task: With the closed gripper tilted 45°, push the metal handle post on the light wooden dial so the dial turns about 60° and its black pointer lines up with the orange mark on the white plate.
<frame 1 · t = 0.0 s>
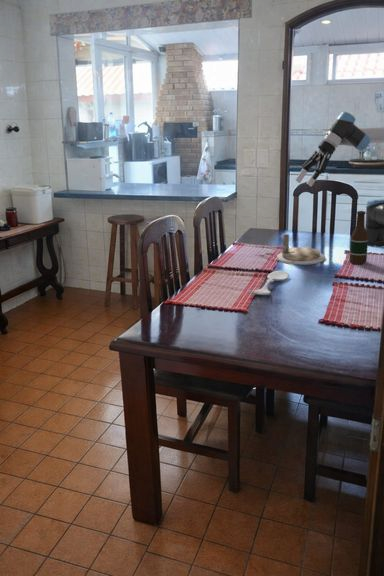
hand: (302, 183, 241), 36 cm above the table, tool tilted 35°, fingers open, 13 cm apart
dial: (301, 244, 249), point 7 cm above the table, hinge at 0.0°
beer bottle: (357, 262, 241), on the table
spoon: (270, 287, 213), on the table
white plate: (300, 258, 251), on the table
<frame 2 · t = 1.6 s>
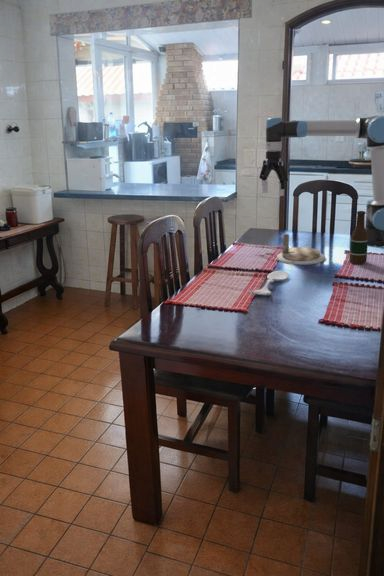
hand: (273, 194, 260), 29 cm above the table, tool pointing down, fingers open, 12 cm apart
nothing on the table moved.
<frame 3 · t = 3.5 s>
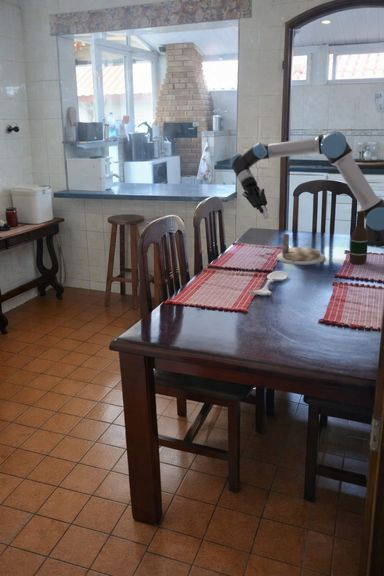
hand: (267, 217, 257), 18 cm above the table, tool tilted 45°, fingers closed
nothing on the table moved.
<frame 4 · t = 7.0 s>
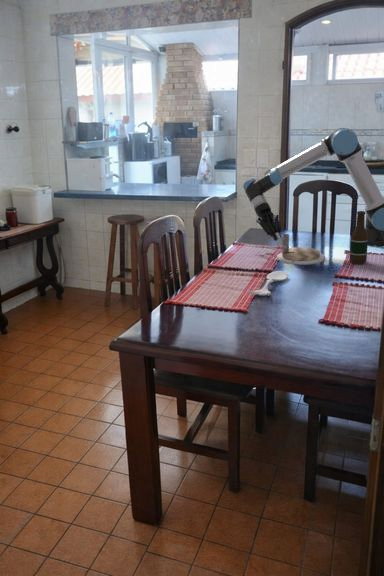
hand: (281, 245, 251), 6 cm above the table, tool tilted 45°, fingers closed
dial: (301, 244, 249), point 7 cm above the table, hinge at 1.9°, touching gripper
everything else where it was.
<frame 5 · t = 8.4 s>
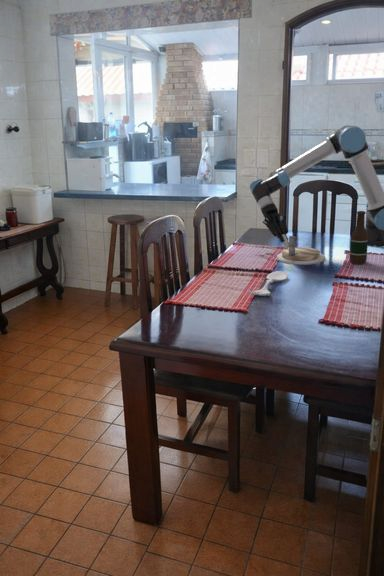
hand: (287, 247, 246), 7 cm above the table, tool tilted 45°, fingers closed
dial: (301, 244, 249), point 7 cm above the table, hinge at 44.8°, touching gripper
everything else where it was.
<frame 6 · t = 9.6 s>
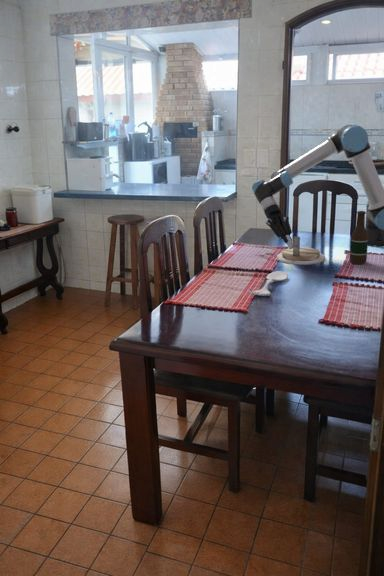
hand: (291, 247, 245), 7 cm above the table, tool tilted 45°, fingers closed
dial: (301, 244, 249), point 7 cm above the table, hinge at 61.9°, touching gripper
everything else where it was.
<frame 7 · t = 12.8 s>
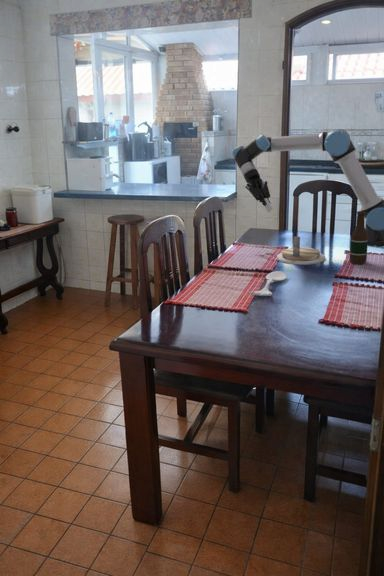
hand: (270, 210, 256), 22 cm above the table, tool tilted 45°, fingers closed
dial: (301, 244, 249), point 7 cm above the table, hinge at 62.0°
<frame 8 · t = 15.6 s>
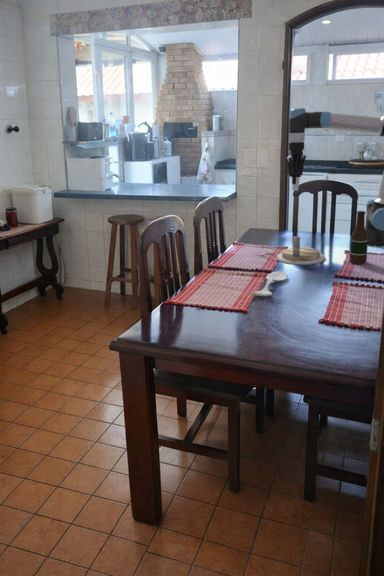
hand: (295, 190, 259), 30 cm above the table, tool pointing down, fingers closed
at the end: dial at +62° (first picture: +0°); beer bottle moved 0.2 cm from its start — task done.
